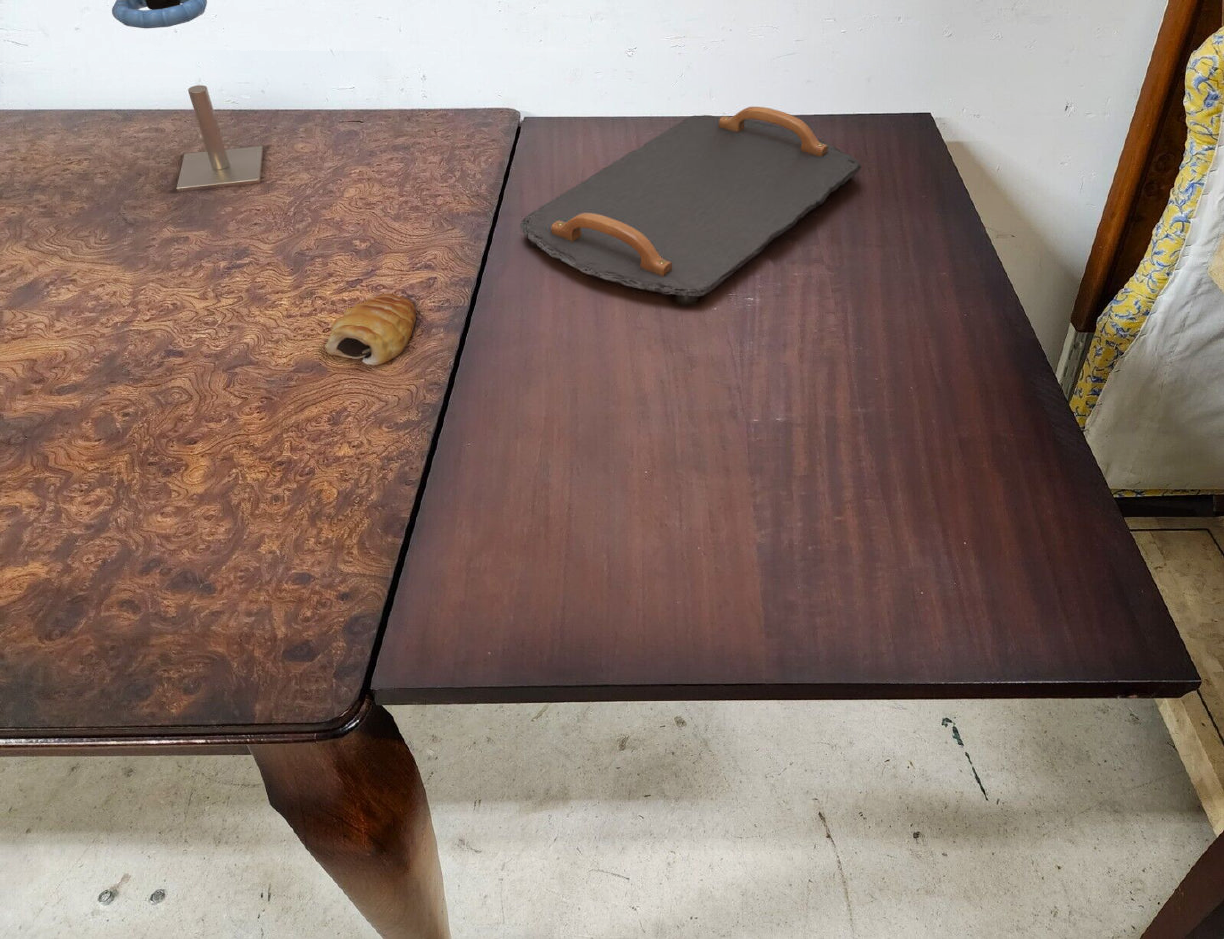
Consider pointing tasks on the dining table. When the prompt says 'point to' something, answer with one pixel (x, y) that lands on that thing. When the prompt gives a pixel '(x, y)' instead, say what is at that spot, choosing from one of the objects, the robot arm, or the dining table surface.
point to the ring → (156, 13)
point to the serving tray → (692, 202)
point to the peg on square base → (216, 153)
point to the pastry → (373, 329)
